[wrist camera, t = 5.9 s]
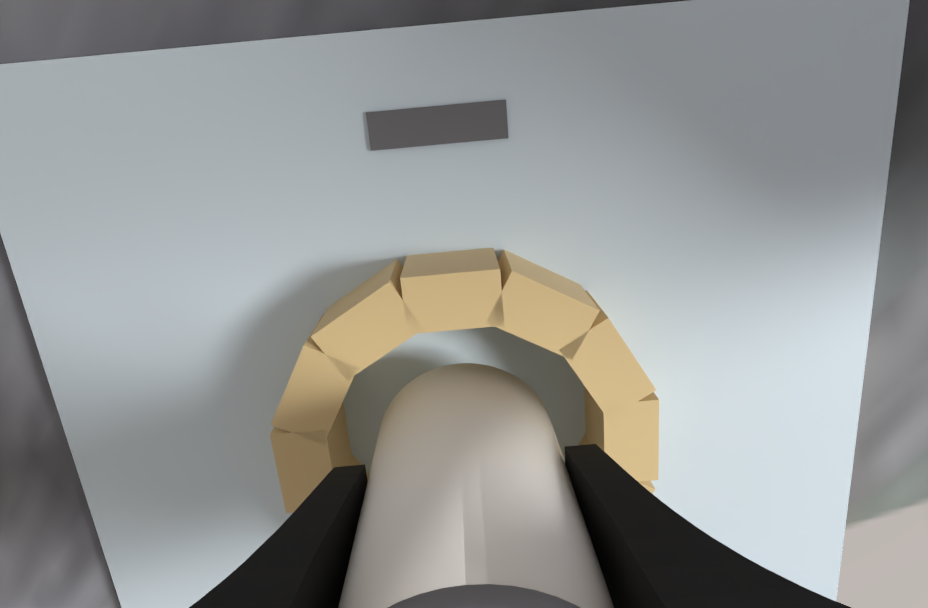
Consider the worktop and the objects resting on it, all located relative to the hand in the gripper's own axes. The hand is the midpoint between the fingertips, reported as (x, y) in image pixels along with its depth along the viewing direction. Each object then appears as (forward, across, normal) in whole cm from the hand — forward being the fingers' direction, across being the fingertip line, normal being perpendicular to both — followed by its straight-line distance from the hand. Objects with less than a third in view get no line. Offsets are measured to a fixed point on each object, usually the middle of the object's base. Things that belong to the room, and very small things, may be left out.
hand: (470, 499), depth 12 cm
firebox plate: (+4, 0, 0) cm, 4 cm away
